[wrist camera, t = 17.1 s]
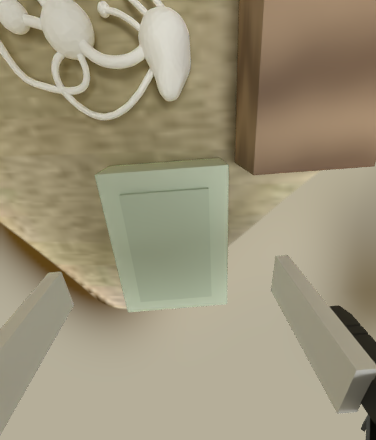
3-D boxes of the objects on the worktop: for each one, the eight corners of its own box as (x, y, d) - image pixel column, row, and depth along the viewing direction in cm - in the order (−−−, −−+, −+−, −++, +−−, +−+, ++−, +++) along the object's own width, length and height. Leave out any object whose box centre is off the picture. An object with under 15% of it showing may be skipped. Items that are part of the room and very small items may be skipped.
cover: (110, 165, 19) (92, 176, 15) (218, 157, 19) (229, 165, 15) (135, 283, 24) (127, 315, 20) (219, 276, 24) (228, 307, 20)
